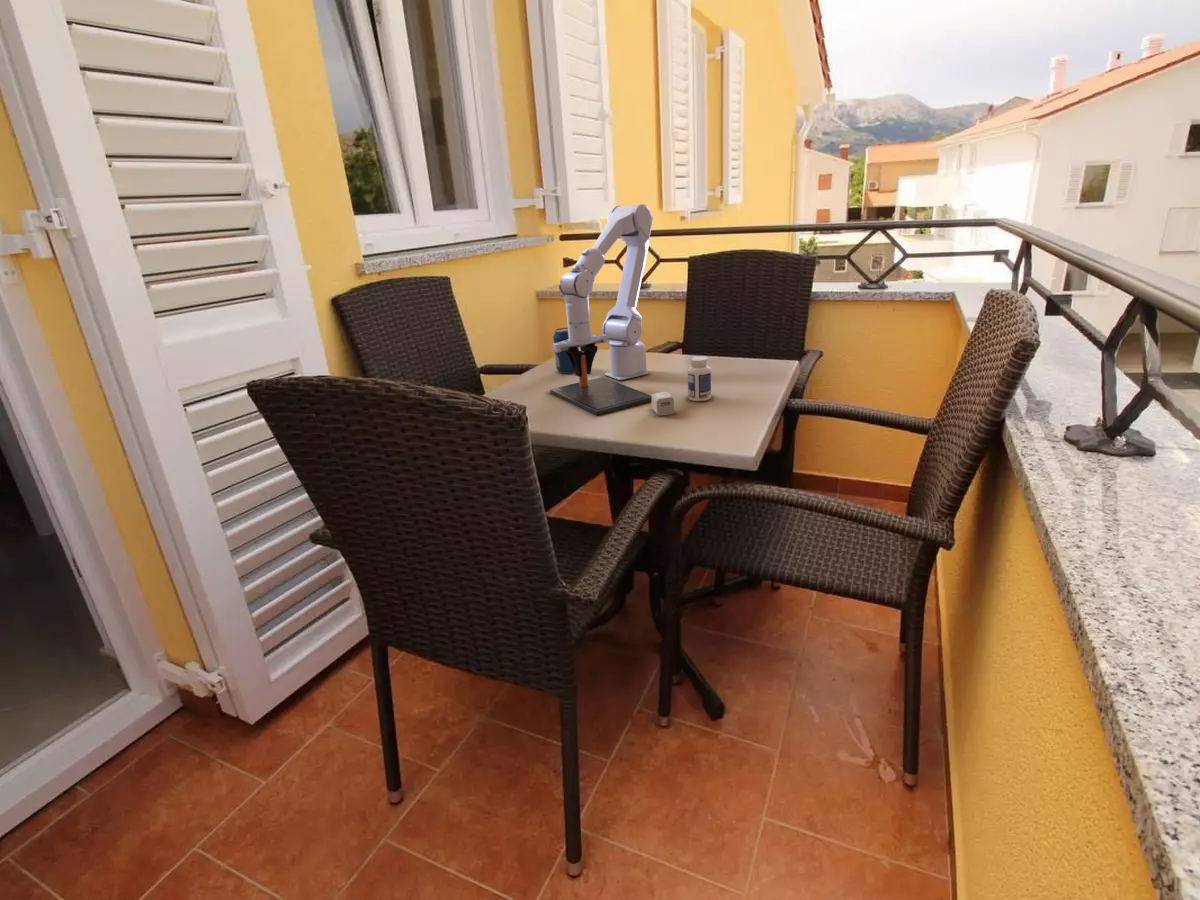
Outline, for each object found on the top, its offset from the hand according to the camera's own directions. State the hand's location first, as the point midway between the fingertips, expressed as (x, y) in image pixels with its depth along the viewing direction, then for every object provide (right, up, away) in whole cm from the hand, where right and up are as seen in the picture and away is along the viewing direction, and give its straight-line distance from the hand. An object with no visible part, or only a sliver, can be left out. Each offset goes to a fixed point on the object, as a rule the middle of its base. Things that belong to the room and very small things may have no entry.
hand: (583, 374), depth 161 cm
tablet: (+4, -6, -5) cm, 9 cm away
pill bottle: (+28, -7, -12) cm, 31 cm away
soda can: (-5, +3, +20) cm, 21 cm away
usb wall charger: (+18, -11, -18) cm, 28 cm away
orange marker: (0, -3, +1) cm, 3 cm away
